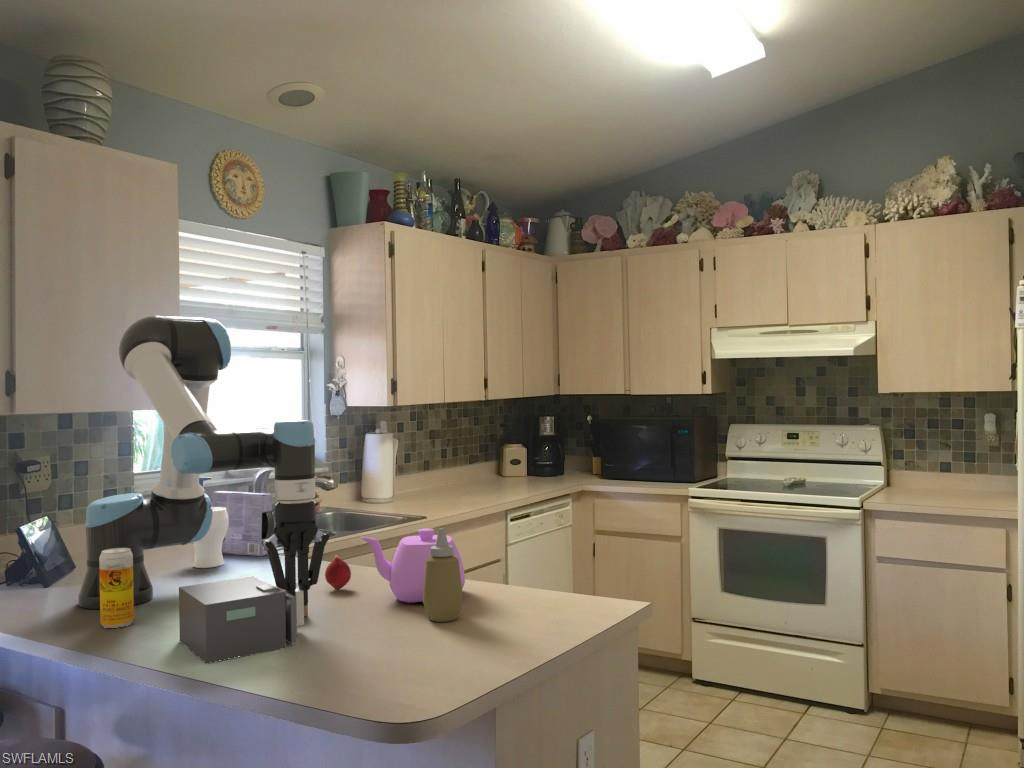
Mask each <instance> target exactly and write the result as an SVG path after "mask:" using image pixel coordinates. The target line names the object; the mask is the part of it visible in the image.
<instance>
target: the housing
mask: <svg viewBox="0 0 1024 768" xmlns="http://www.w3.org/2000/svg"><path fill="white" fill-rule="evenodd" d="M268 583H269V582H266V581H264V580H261V579H260V578H257V576H256V577H255V576H245V577H238V578H233V579H226V580H218V581H212V582H205V583H199V584H198V583H197V584H192V585H191V584H190V585H185V586H184V585H183V586H179V587H178V609H179V611H178V614H179V616H178V619H179V621H178V623H179V642H180V641H181V642H180V643H181V644H183V645H184V646H185V645H186V646H187V647H188V650H190V651H191V652H192V651H193V652H194V653H195V654H194V653H193V652H192V653H193V654H194V655H196V656H197V657H198V656H199V657H200V658H201V659H202V660H201V659H200V658H199V657H198V658H199V659H200V660H201V661H202V662H204V663H205V664H206V663H208V664H211V663H210V662H213V663H216V662H215V661H218V662H220V661H219V660H223V661H225V660H224V659H228V658H233V659H235V658H234V657H238V656H243V657H245V656H244V655H248V656H251V654H253V655H256V654H257V653H258V654H262V653H263V654H264V653H267V651H268V652H271V651H272V652H273V651H276V650H277V649H278V650H281V649H282V648H283V649H286V648H287V640H286V620H285V592H284V591H282V590H280V589H278V588H276V587H274V585H273V586H272V584H271V583H269V584H268ZM270 584H271V585H270ZM186 646H185V647H186ZM187 647H186V648H187ZM278 650H277V651H278ZM238 658H239V657H238ZM228 660H229V659H228Z"/></svg>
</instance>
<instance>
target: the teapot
mask: <svg viewBox="0 0 1024 768" xmlns="http://www.w3.org/2000/svg"><path fill="white" fill-rule="evenodd" d="M435 531H436V530H435V529H433V528H431V527H430V528H427V527H426V528H420V529H418V530H417V532H418V533H417V534H418V535H408V536H405V537H402V538H401V539H400V541H399V543H398V545H397V548H396V550H395V553H394V556H393V559H392V561H391V562H390V561H389V560H387V559H386V558H385V556H384V553H383V550H382V545H381V543H380V541H378V539H376V538H375V537H374V538H373V537H366V536H360V539H362V540H363V541H365V542H366V543H368V545H369V546H370V548H371V549H372V552H373V556H374V563H375V566H376V570H377V571H378V573H379V575H380V576H381V577H382V578H383V579H384V580H385V581H388V582H389V587H390V591H392V594H393V595H394V597H395V598H396V599H397V600H398V601H401V602H404V603H405V602H407V603H406V604H415V603H414V602H417V603H420V602H422V603H423V592H424V580H425V568H426V560H427V559H428V558H430V557H432V556H431V553H430V548H431V547H432V546H436V541H437V535H438V534H435ZM446 537H447V541H448V545H451V546H453V547H454V555H452V556H455V557H456V558H457V559H458V560H459V568H460V576H461V585H462V589H463V588H464V585H465V583H466V582H465V581H466V576H465V568H464V564H463V560H462V557H461V555H460V552H459V550H458V547H457V545H456V542H455V541H454V539H453V538H452V536H450V535H447V534H446Z"/></svg>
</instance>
